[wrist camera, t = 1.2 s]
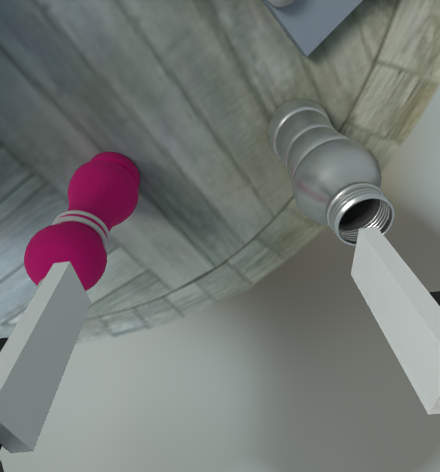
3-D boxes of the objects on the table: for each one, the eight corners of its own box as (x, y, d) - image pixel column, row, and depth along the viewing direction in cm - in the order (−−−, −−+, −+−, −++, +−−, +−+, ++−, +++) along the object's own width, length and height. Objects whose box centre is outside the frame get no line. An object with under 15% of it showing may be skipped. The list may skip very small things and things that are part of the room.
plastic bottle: (328, 95, 34) (441, 173, 17) (314, 155, 38) (395, 265, 21) (268, 92, 33) (327, 168, 17) (260, 153, 37) (302, 263, 21)
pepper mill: (127, 139, 36) (61, 245, 19) (154, 192, 40) (117, 317, 24) (71, 158, 37) (-36, 273, 21) (102, 208, 41) (34, 338, 25)
